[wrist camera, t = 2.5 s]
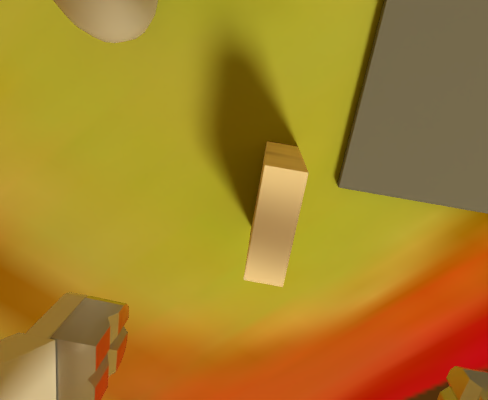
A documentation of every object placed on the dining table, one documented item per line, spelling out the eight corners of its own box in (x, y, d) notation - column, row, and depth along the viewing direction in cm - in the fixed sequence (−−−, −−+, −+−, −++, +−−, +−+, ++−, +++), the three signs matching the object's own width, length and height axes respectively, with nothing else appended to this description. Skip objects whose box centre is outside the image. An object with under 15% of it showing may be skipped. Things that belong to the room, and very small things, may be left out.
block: (279, 232, 25) (282, 286, 18) (251, 226, 25) (243, 279, 18) (298, 146, 23) (308, 172, 16) (266, 141, 23) (264, 165, 16)
